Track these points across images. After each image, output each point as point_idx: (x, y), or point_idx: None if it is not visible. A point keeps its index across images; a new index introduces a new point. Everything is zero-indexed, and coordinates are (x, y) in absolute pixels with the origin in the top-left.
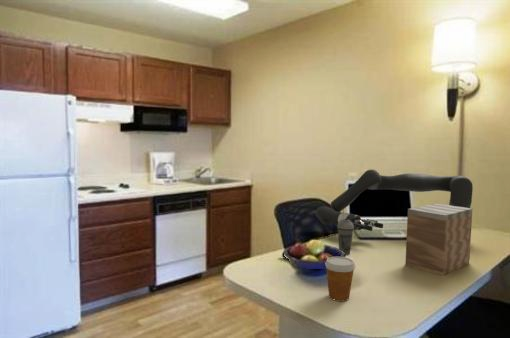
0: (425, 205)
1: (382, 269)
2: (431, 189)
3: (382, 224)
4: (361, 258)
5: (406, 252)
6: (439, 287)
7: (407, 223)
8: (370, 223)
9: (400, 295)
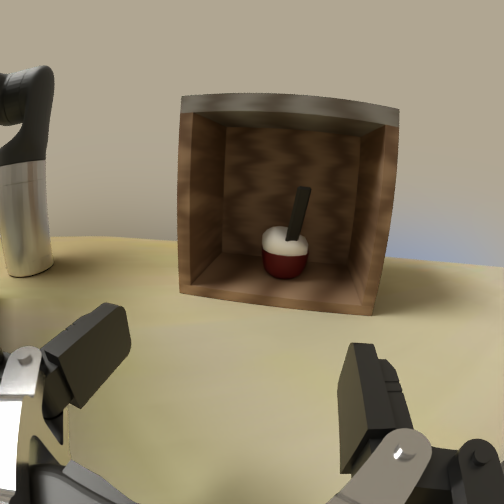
0: (267, 93)
1: (463, 329)
2: None
3: (121, 307)
4: (479, 407)
5: (380, 273)
6: (409, 267)
7: (396, 164)
8: (46, 439)
9: (485, 283)
